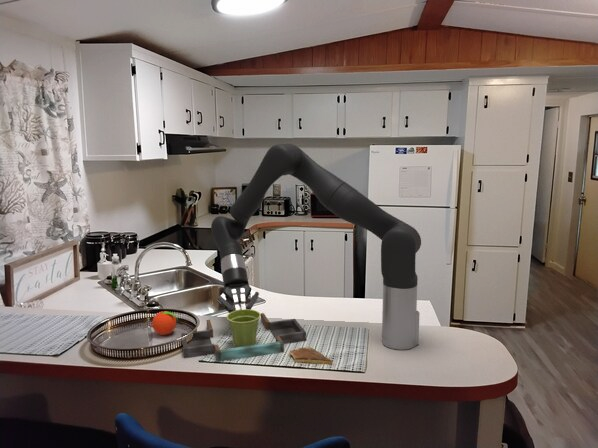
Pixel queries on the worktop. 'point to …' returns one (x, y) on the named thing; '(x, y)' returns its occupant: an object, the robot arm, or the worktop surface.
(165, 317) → the clementine
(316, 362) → the shard
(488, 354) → the worktop surface
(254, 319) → the plant pot
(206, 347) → the two-trap channel
